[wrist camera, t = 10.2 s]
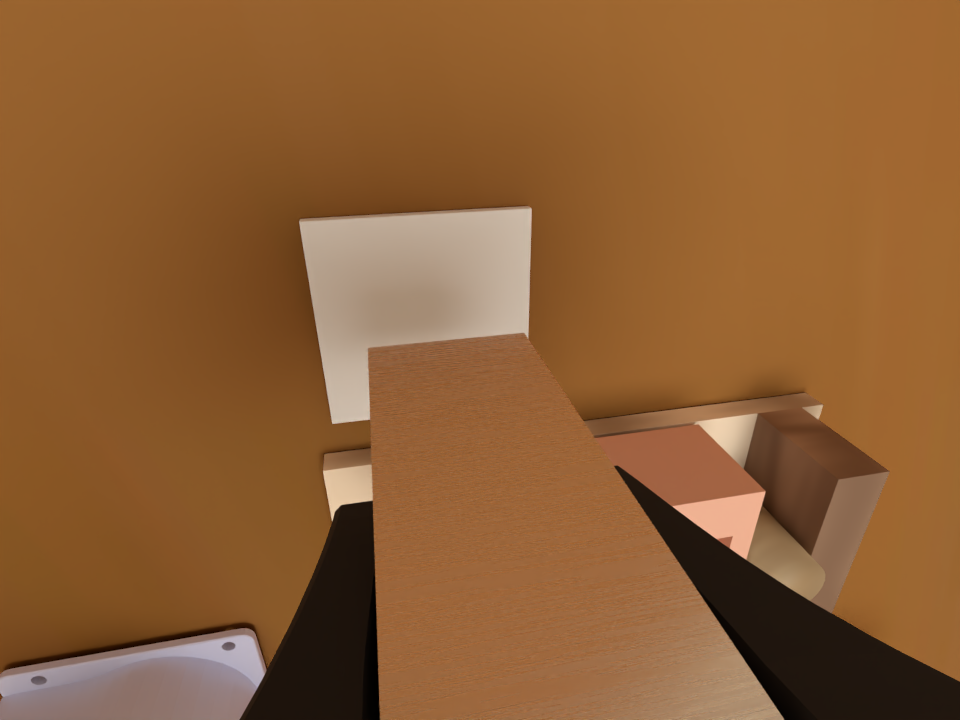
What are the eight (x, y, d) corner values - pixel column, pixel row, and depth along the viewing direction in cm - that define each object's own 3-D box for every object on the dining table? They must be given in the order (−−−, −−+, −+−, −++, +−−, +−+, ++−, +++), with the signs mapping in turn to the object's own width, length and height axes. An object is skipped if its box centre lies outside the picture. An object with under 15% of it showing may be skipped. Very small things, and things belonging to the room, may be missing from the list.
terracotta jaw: (543, 593, 24) (575, 681, 20) (551, 443, 20) (591, 519, 17) (669, 570, 25) (720, 650, 21) (698, 424, 21) (765, 491, 18)
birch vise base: (351, 604, 24) (349, 753, 18) (324, 454, 20) (312, 586, 15) (764, 532, 27) (862, 640, 22) (805, 392, 23) (936, 482, 18)
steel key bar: (383, 476, 14) (415, 1000, 6) (367, 347, 12) (383, 833, 4) (521, 457, 14) (719, 910, 6) (524, 332, 13) (792, 732, 5)
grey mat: (332, 417, 19) (332, 424, 19) (300, 218, 16) (299, 221, 16) (523, 395, 20) (526, 401, 20) (528, 205, 17) (531, 208, 17)
